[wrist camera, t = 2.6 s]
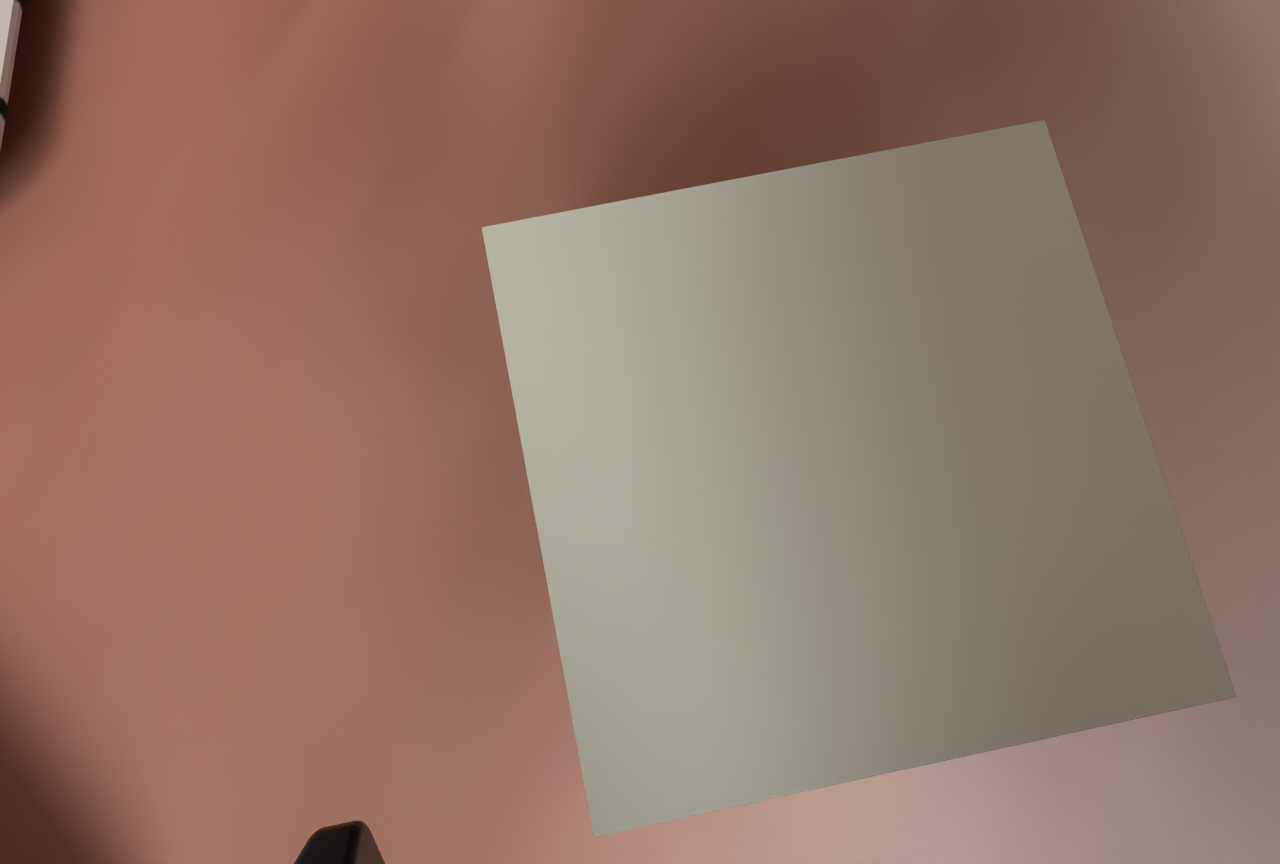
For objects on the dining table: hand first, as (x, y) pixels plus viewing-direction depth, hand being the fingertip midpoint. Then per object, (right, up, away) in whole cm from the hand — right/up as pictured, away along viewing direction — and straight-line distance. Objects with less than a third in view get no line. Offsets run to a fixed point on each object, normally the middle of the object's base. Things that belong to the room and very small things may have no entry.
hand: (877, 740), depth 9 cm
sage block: (0, 0, +10) cm, 10 cm away
